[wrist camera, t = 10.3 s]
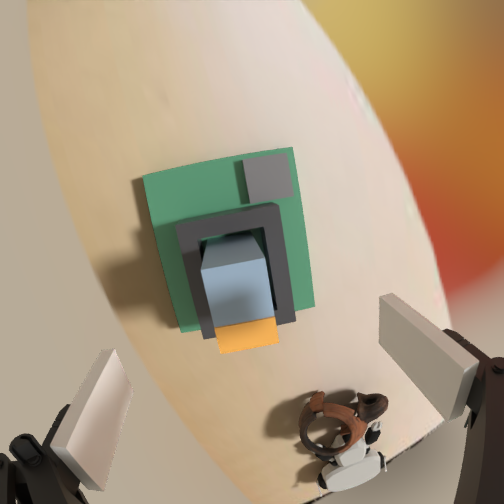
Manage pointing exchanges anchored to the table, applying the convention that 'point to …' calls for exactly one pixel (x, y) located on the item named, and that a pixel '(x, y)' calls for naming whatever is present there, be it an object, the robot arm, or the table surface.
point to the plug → (238, 293)
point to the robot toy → (351, 462)
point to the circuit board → (231, 228)
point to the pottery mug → (342, 419)
